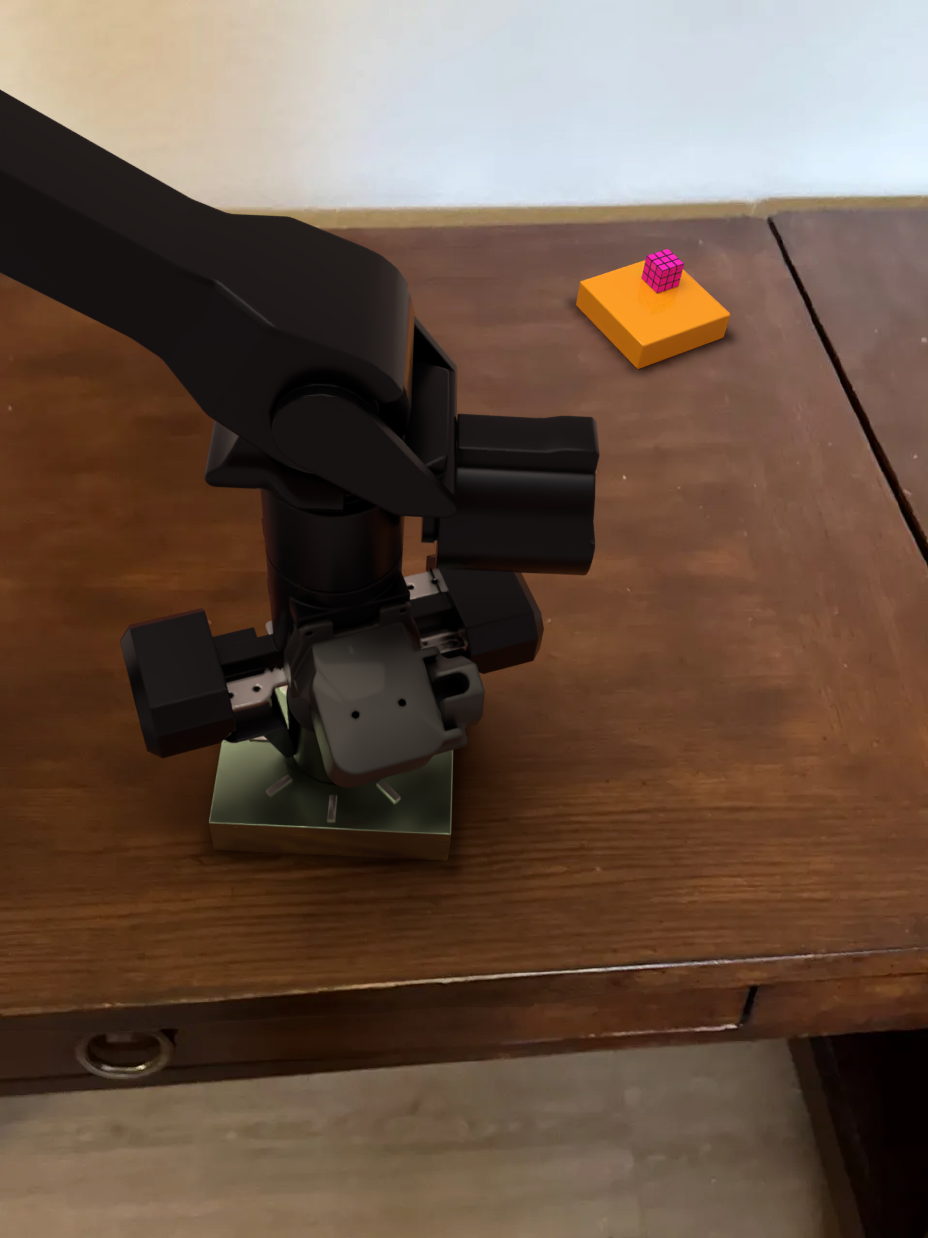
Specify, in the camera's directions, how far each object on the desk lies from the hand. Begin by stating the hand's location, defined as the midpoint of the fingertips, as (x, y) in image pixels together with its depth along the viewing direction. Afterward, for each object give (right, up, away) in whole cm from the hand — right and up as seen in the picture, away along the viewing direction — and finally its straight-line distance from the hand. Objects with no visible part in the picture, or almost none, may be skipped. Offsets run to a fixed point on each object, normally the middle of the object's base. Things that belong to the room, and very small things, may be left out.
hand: (337, 736), depth 63 cm
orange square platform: (+20, +28, +28) cm, 44 cm away
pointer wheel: (0, 0, 0) cm, 0 cm away
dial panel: (0, -2, +3) cm, 4 cm away
